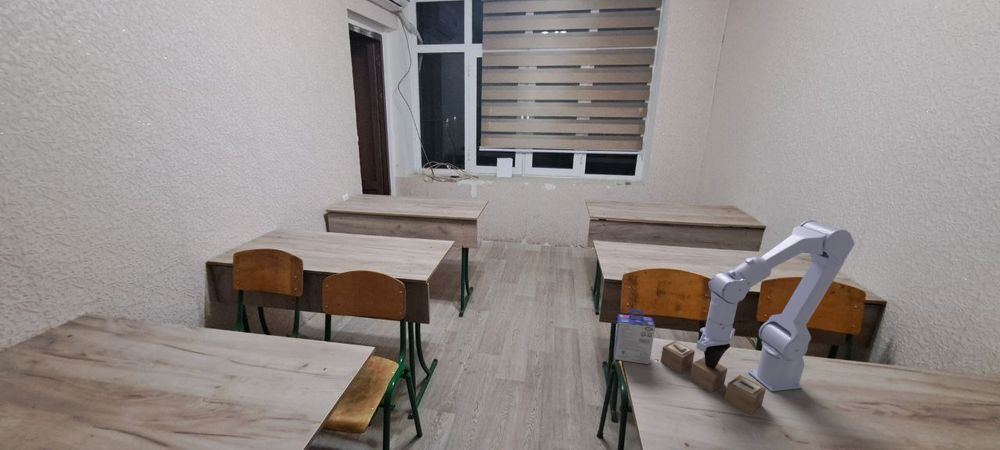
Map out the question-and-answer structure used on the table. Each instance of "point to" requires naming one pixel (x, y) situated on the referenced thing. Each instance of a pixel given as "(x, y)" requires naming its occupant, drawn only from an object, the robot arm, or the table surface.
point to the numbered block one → (745, 394)
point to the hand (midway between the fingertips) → (710, 365)
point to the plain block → (708, 375)
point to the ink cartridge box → (634, 338)
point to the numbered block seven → (677, 356)
